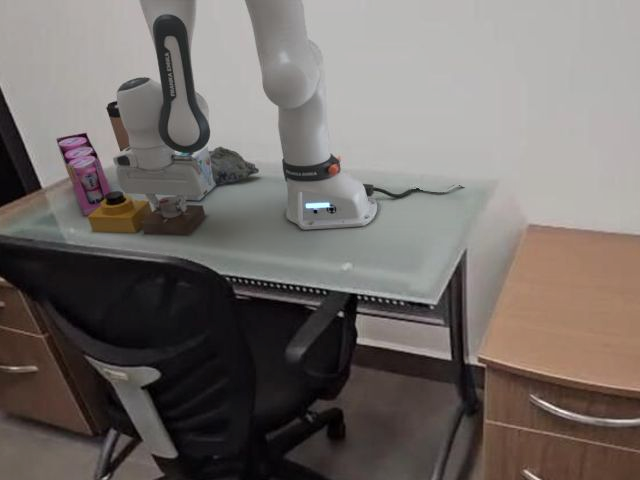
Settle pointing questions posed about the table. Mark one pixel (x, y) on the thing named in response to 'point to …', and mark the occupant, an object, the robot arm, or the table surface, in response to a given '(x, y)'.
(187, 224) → the dial panel
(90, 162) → the gum box
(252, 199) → the table surface
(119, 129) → the travel mug
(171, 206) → the knob
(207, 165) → the light bulb box
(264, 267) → the table surface
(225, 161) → the mineral rock
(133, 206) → the control box
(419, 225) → the table surface
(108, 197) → the button
